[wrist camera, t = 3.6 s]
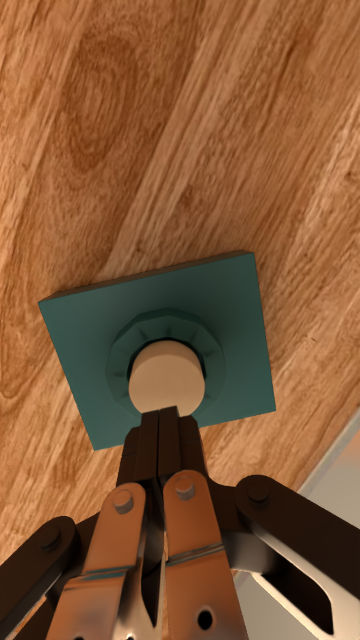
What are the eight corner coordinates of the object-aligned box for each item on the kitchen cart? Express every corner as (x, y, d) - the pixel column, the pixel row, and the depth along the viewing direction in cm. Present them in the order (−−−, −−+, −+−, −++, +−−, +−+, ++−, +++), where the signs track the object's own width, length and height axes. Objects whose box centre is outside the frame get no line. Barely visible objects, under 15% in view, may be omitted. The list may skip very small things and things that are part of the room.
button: (192, 332, 16) (196, 346, 14) (206, 393, 17) (211, 413, 15) (124, 348, 16) (119, 364, 14) (142, 407, 17) (139, 429, 16)
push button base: (242, 249, 19) (264, 254, 15) (263, 390, 22) (287, 428, 18) (54, 292, 19) (22, 310, 15) (102, 426, 22) (87, 472, 18)
